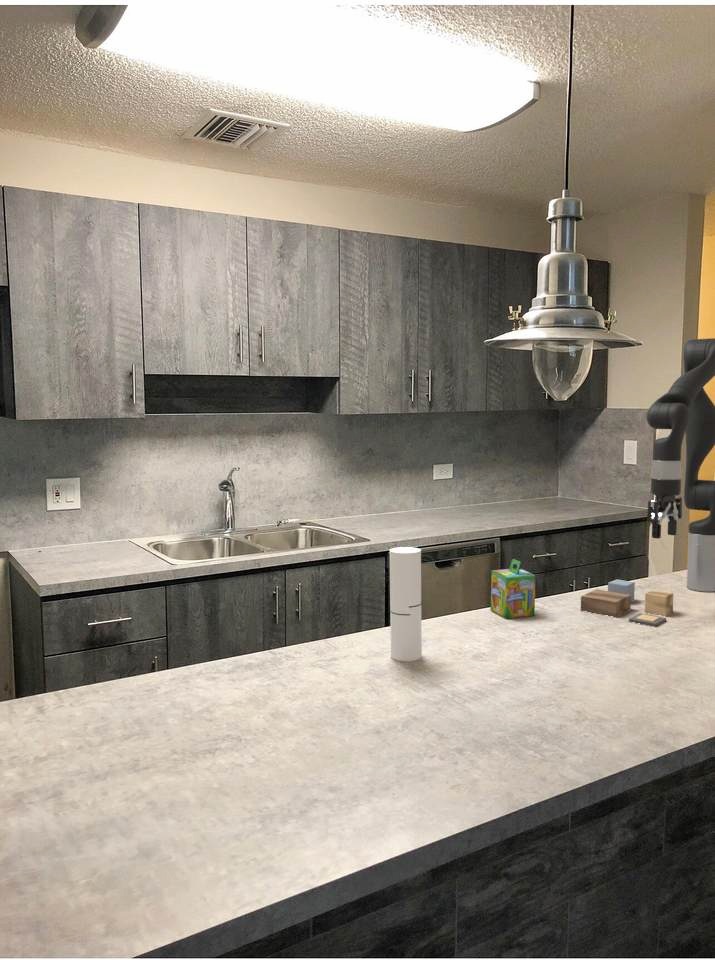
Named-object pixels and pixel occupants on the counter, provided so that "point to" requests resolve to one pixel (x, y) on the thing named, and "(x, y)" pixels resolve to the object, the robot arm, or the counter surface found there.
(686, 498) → the robot arm
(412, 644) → the cylindrical container
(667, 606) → the oak block
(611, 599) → the base block
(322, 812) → the counter surface
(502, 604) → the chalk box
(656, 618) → the tile
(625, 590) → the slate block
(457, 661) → the counter surface
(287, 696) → the counter surface
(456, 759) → the counter surface
